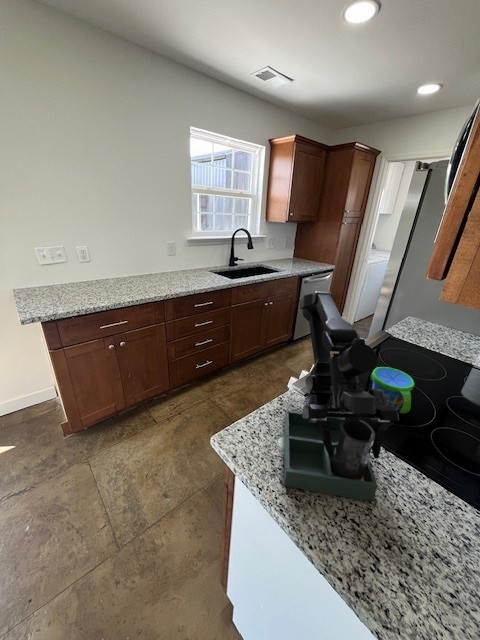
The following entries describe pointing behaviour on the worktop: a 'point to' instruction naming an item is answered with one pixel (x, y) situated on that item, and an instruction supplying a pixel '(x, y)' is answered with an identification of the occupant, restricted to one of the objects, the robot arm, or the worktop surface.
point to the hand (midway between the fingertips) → (353, 458)
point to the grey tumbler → (352, 449)
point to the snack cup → (393, 387)
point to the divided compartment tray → (318, 461)
